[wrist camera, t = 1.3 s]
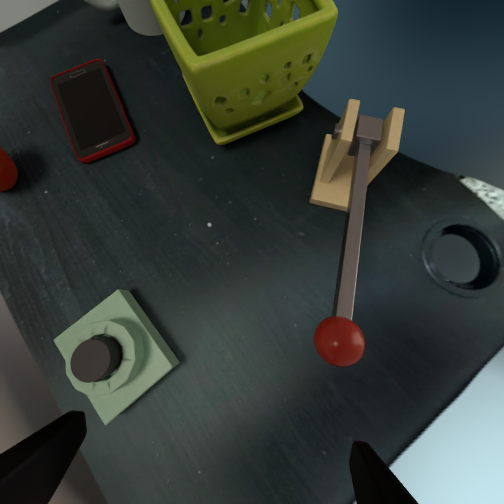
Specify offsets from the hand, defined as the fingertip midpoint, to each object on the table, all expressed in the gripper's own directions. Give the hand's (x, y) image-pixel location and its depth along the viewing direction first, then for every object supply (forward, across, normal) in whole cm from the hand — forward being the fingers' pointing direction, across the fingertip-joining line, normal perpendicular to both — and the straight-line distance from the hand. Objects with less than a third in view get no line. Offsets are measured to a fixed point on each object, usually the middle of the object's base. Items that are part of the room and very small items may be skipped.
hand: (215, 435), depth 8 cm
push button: (+13, +13, +8) cm, 20 cm away
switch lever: (+15, -8, -5) cm, 18 cm away
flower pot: (+30, +3, -20) cm, 36 cm away
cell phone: (+29, +23, -17) cm, 41 cm away
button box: (+16, +13, +10) cm, 23 cm away
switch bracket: (+26, -10, -11) cm, 30 cm away
